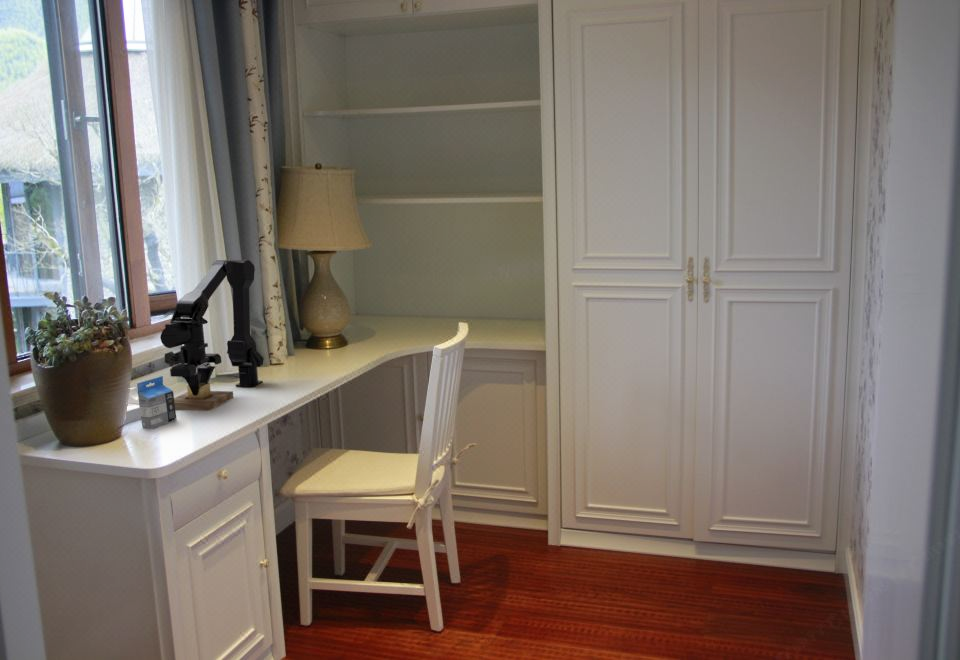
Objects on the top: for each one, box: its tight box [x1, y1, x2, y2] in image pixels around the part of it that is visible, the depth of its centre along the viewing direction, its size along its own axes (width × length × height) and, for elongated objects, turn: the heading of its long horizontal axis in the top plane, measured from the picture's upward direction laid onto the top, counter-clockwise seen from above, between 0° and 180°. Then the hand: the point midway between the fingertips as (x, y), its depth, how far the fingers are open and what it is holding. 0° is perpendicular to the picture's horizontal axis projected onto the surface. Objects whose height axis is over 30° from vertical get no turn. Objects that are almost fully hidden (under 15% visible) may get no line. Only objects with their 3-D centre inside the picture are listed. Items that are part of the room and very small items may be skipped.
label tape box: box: [136, 375, 177, 429], centre depth 233 cm, size 9×4×12 cm, turn 153°
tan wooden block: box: [186, 382, 211, 400], centre depth 253 cm, size 4×5×4 cm
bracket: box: [123, 387, 141, 425], centre depth 239 cm, size 13×7×8 cm, turn 152°
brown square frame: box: [174, 390, 234, 412], centre depth 254 cm, size 14×14×2 cm
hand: (199, 393), depth 253 cm, fingers closed on tan wooden block, 4 cm apart
